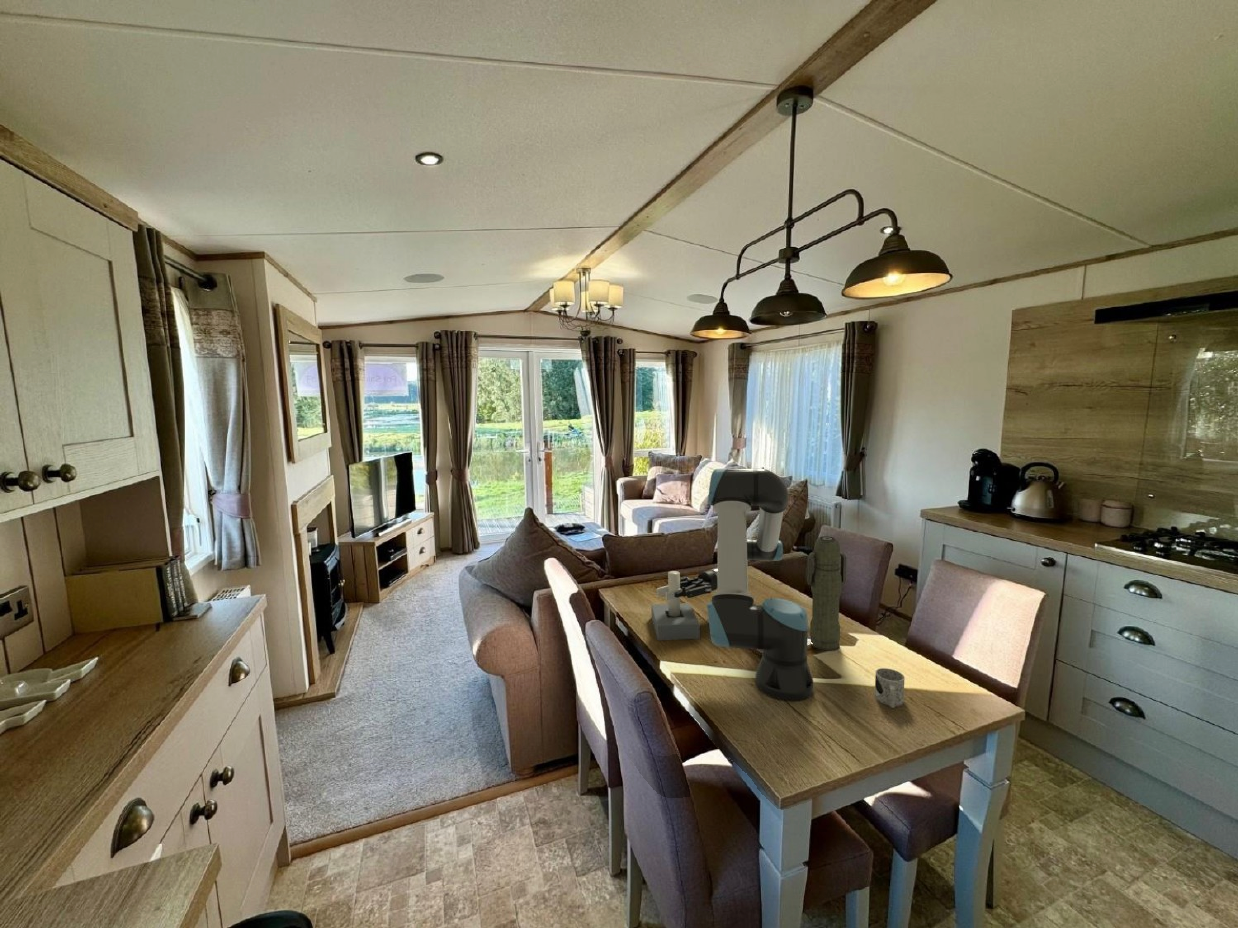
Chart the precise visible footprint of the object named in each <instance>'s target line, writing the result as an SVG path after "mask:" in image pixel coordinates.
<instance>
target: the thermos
mask: <svg viewBox="0 0 1238 928" xmlns="http://www.w3.org/2000/svg"><path fill="white" fill-rule="evenodd" d="M813 547H814V548H813V551H812V552H810V553H808V555H807V559H806V560H807V565H806V567H807V568H806V580H807V581H806V582H807V585H808V586H811V587H810V588H811V593H812V601H811V602H812V603H811V605H812V606H811V607H812V608H811V611H812V613H811V620H810V623H809V636H810V640H811V642H812V643H813V646H812V647H814V648H815V649H819V650H821V651H825V652H827V651H828V652H832V651H836V650H838V649H839V648H840V640H841V624H840V621H839V620H840V619H839V618H840V596H841V594H842V586H843V585H844V584H846V580H847V579H846V577H847V576H846V575H847V556H846V555H845V554H844V553H843V552H842V551H841V546H840V543H839V540H838V539H837V538H836V537H833V536H827V535H824V536H819V537H817V539H816V540H815V543H814V546H813ZM813 562H814V563H813Z"/></svg>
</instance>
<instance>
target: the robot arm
mask: <svg viewBox="0 0 1238 928" xmlns="http://www.w3.org/2000/svg"><path fill="white" fill-rule="evenodd" d="M788 490H789V489H788V487H787V486H786V484H785V482H784V481H783V480H782V478H781V477H779V476H778V475H777V474H776V473H774V472H773V471H772V470H769V469H766V468H761V467H759V468H729V467H725V468H716V469H713V471H712V473H711V475H710V481H709V486H708V497H707V502H708V505H710V506H712V511H713V512H714V513H715V514H716V515H717V567H715V568H712V569H709V570H708V569H707V570H704V571H701V572H699V574H698V576H694V577H691V578H690V577H689V575H684V576H683V577H680V588H679V589H676V590H673V591H669V592H668V585H665V586H660V587H657V588H656V596H657V597H662V596H664V597H665V601H667V602H669V600H671V599H675V598H678V597H680V598H681V597H684V598H686V597H687V598H688V599H690V598H691V599H692V598H695V597H698V596H701V595H706V594H712V592H714V591H716V592H715V593H714V594H713V595H712V596H711V601H709V602H706V607H707V616H708V617H707V618H708V624H709V625H708V626H709V635H710V641H711V643H712V644H713V645H714V646H716V647H723V648H727V649H730V648H733V649H734V648H735V649H748V650H758V651H759V650H761V651H762V655H761V656H762V657H761V658H760V660H759V664H758V666H757V669H756V672H755V685H756V687H757V688H758V690H760V691H761V692H762V693H764V694H765V695H766V696H768V697H771V698H774V699H776V700H781V701H788V702H797V701H798V702H799V701H802V700H806V699H808V698H809V697H811V696H812V695H813V693H814V679H813V677H812V673H811V670H810V667H809V663H808V637H809V636H808V631H809V630H810V626H809V625H808V624H809V623H808V622H809V620H808V619H809V618H808V613H807V612H806V610H805V609H804V608H803V607H802V606H801V605H800V604H797V603H796V602H794V601H790V600H787V599H783V598H778V597H771V598H766V599H765V600H763V602H762V604H761V605H758V604H757V605H756V604H755V601H754V600H755V599H754V597H753V596H752V594H750V593H749V588H748V587H749V583H748V582H749V578H748V577H749V576H748V573H749V572H748V561H764V562H765V561H766V562H767V561H768V562H773V561H774V562H775V561H776V562H777V561H778V562H779V561H781V560H782V559H783V557H784V556H783V552H784V549H783V547H784V546H783V542H782V541H781V540H779V539H780V533H781V528H782V522H783V517H784V512H785V511H786V510H787V508H788V506H789V502H790V493H789V491H788ZM753 506H758V507H759V514H758V523H757V531H756V533H757V534H756V539H749V538H747V515H748V514H749V513H750V512H751V511H752V507H753Z"/></svg>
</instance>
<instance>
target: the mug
mask: <svg viewBox="0 0 1238 928" xmlns="http://www.w3.org/2000/svg"><path fill="white" fill-rule="evenodd" d="M904 695H905V676H904V675H903V673H901V672H900V671H898V670H895V669H892V668H888V667H887V668H886V667H880V668H878V669H876V670H875V681H874V697H875V699H876V701H878V702H879V703H880V704H883V705H886V706H889V707H890V708H892V709H895V708H896V707H901V706H903V704H904Z"/></svg>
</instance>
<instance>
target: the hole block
mask: <svg viewBox="0 0 1238 928" xmlns="http://www.w3.org/2000/svg"><path fill="white" fill-rule="evenodd" d="M650 608H651V620H652V623H653V628H654V631H655V634H656V635H655V636H656V638H657V641H672V640H673V641H674V640H676V641H677V640H695V639H697V640H698V639H700V636H701V633H700V631H701V630H700V629H701V628H700V626H701V625H700V622H699V620H698V618H697V616H696V614H695V612H694V610H693V608H692V606H691V604H690V602H684V603H681V602H680V616H677V617H672V616H669V603H662V604H661V603H660V604H651V606H650Z"/></svg>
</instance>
